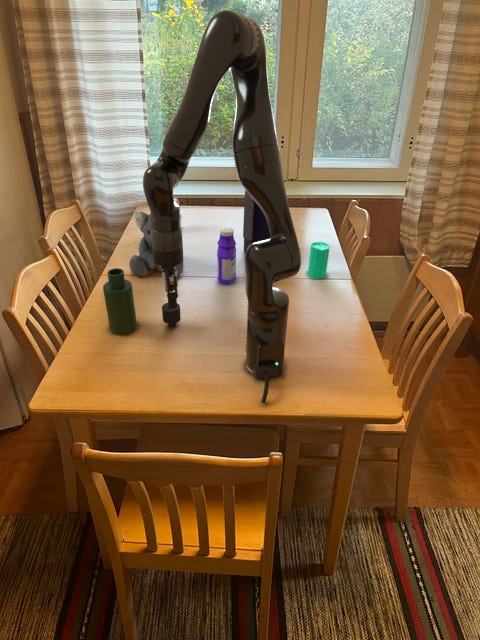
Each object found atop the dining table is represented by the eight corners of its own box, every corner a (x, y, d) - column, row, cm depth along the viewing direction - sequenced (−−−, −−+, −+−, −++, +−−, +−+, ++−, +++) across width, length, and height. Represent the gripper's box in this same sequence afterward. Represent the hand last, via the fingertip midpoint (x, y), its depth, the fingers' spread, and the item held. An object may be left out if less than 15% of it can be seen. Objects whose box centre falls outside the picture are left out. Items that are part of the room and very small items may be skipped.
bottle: (232, 286, 148) (233, 235, 138) (215, 284, 149) (214, 233, 139) (237, 276, 154) (238, 225, 144) (220, 274, 155) (220, 223, 145)
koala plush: (128, 278, 151) (121, 220, 140) (138, 254, 166) (132, 199, 155) (183, 279, 151) (180, 221, 140) (187, 254, 166) (185, 200, 155)
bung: (182, 329, 128) (181, 310, 125) (164, 331, 127) (162, 312, 124) (179, 320, 132) (178, 301, 128) (162, 322, 131) (160, 303, 127)
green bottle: (137, 333, 126) (130, 277, 117) (110, 336, 125) (100, 280, 115) (136, 318, 132) (129, 264, 123) (109, 321, 131) (100, 266, 121)
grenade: (257, 243, 175) (260, 161, 158) (283, 253, 169) (290, 168, 152) (233, 256, 166) (234, 170, 149) (260, 266, 160) (264, 178, 143)
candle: (305, 276, 155) (308, 242, 148) (311, 268, 159) (315, 235, 152) (322, 280, 152) (326, 246, 146) (328, 272, 157) (333, 239, 150)
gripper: (150, 232, 121) (154, 287, 130) (154, 257, 110) (159, 315, 119) (179, 230, 123) (182, 284, 132) (186, 255, 111) (188, 312, 120)
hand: (171, 299), depth 125 cm, fingers open, 8 cm apart
